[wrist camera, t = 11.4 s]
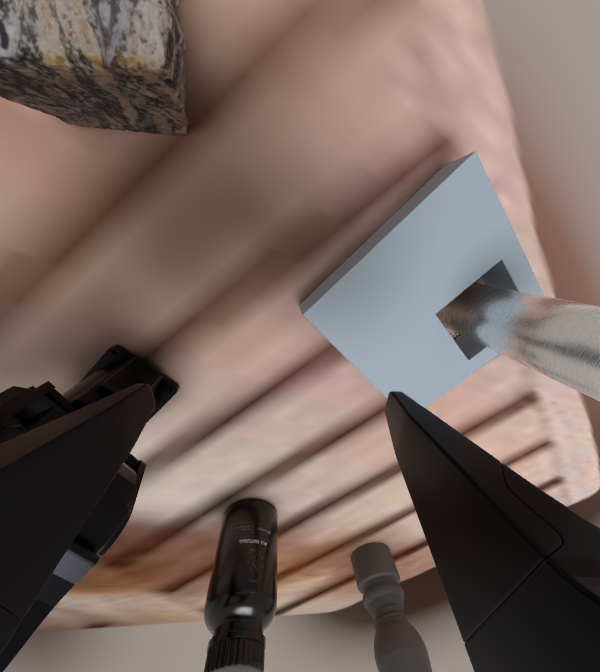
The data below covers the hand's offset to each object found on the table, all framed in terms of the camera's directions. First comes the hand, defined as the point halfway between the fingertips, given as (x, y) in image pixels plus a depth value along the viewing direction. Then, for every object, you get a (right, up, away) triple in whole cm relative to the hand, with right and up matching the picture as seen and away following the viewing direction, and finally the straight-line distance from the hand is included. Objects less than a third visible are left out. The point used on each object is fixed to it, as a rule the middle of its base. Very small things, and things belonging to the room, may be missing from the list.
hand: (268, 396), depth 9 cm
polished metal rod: (+16, +5, +13) cm, 21 cm away
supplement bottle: (-5, -21, +21) cm, 30 cm away
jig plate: (+12, +5, +12) cm, 18 cm away
